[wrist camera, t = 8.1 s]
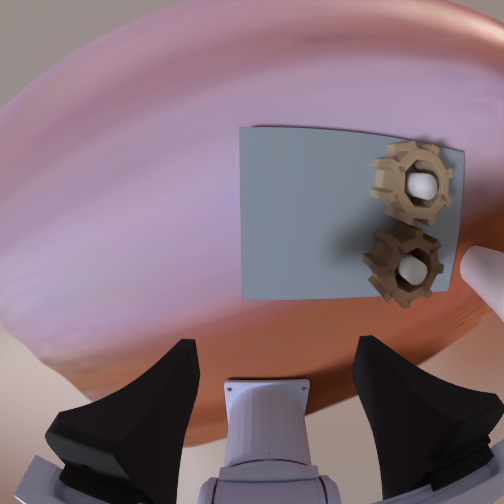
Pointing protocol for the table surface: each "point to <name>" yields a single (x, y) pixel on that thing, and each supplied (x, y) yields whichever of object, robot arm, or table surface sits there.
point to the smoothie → (485, 275)
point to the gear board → (328, 213)
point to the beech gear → (393, 182)
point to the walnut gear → (389, 255)
